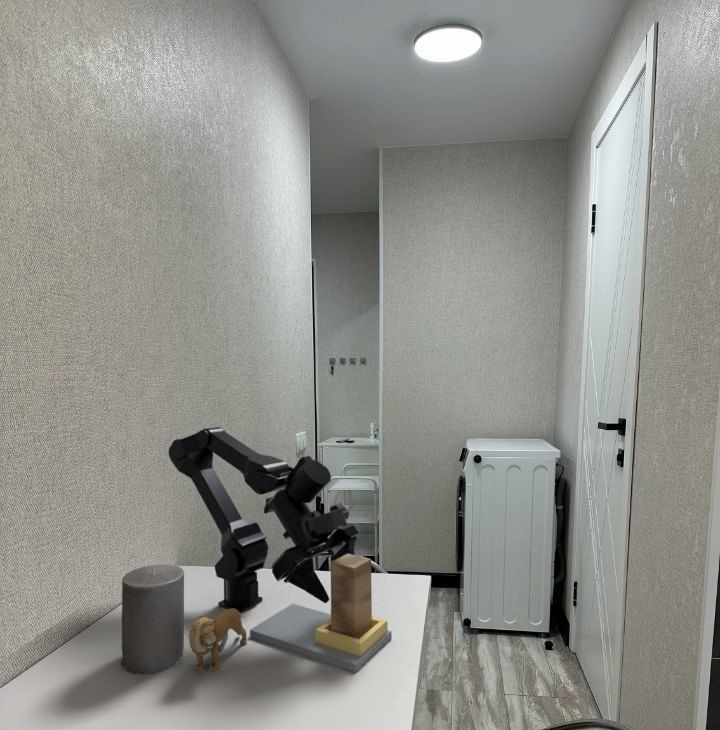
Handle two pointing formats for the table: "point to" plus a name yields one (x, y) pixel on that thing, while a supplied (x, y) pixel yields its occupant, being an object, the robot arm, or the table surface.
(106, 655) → the table surface
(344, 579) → the walnut column
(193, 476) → the robot arm
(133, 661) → the pillar candle
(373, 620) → the base board
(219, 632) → the lion figurine
